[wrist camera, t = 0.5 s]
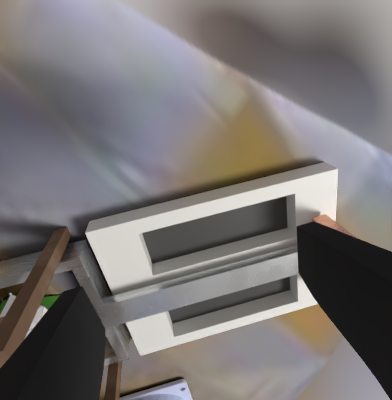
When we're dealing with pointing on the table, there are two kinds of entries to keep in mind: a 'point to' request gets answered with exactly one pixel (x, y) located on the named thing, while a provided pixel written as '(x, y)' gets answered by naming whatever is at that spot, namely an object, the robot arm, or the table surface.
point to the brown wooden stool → (30, 301)
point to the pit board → (213, 250)
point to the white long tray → (157, 285)
